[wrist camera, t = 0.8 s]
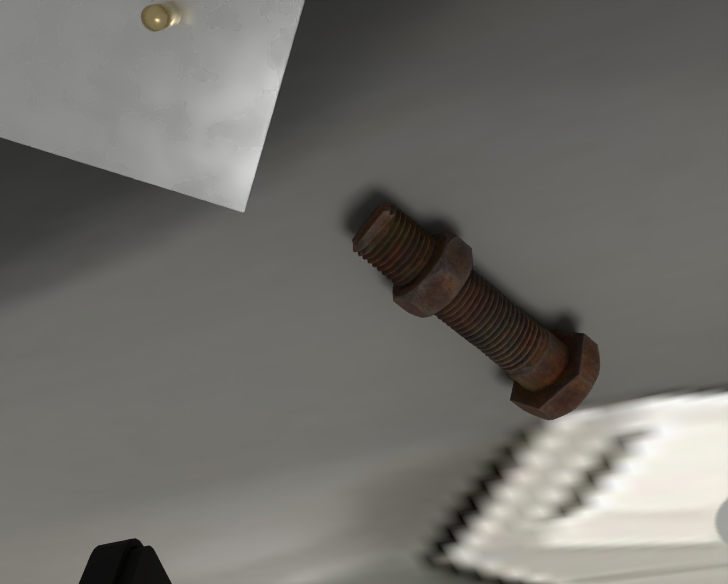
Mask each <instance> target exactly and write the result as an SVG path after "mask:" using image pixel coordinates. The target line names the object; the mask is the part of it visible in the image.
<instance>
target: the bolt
mask: <svg viewBox="0 0 728 584" xmlns="http://www.w3.org/2000/svg"><path fill="white" fill-rule="evenodd" d="M352 241H353V251H354V252H358V255H359V256H363V259H364V260H365V259H367V260H368V263H372V266H373V267H377V270H378V271H382V274H383V275H387V278H388V279H390V278H391V280H392V282H394V285H393V301H394V302H395V303H396V304H398V305H399V306H400V307H402V308H403V309H404V310H406V311H407V312H408V313H410V314H413V315H415V316H418V317H422V318H424V317H429V316H432V315H436V316H437V317H438V318H439V319H441V320H442V321H443V322H444V323H446V324H447V325H448V326H450V327H451V328H452V329H453V330H455V331H456V332H457V333H459V334H460V335H461V336H462V337H464V338H465V339H466V340H468V341H469V342H470V343H472V344H473V345H474V346H476V347H477V348H478V349H480V350H481V351H482V352H483V353H485V355H486V356H488V357H489V358H490V359H491V360H493V361H494V362H495V363H496V364H498V365H499V366H500V367H502V368H503V369H504V370H505V371H506V373H507V374H508V375H509V376H510V377H511V378H513V379H514V384H513V388H512V393H511V398H510V400H511V401H512V402H513V403H515V404H516V405H517V406H518V407H520V408H521V409H522V410H524V411H526V412H528V413H530V414H532V415H535V416H538V417H540V418H543V419H546V420H554V419H556V418H559V417H561V416H564V415H566V414H567V413H569V412H571V411H573V410H574V409H575V408H577V407H578V406H579V405H580V404H581V403H582V402H583V400H584V399H585V398H586V396H587V395H588V393H589V392H590V390H591V389H592V387H593V385H594V383H595V381H596V380H597V377H598V375H599V370H600V356H599V350H598V345H597V344H596V343H595V342H594V341H593V340H591V339H590V338H589V337H588V336H587V335H586V334H583V333H575V332H567V331H559V330H554V331H553V332H552V333H551V332H549V331H548V330H547V329H545V328H542V327H540V326H539V325H538V324H537V323H536V322H535V321H534V320H532V319H531V318H530V317H529V316H527V315H526V314H525V313H523V312H522V310H520V309H519V308H518V307H517V306H515V305H514V304H513V303H512V302H510V301H509V300H508V299H507V298H506V297H505V296H503V295H501V293H500V292H498V291H497V290H496V289H495V288H493V286H492V285H490V284H488V282H487V281H484V280H483V278H482V277H479V275H478V274H476V273H475V272H474V271H473V270H471V269H472V264H473V258H472V248H471V247H470V246H469V245H467V244H466V243H465V242H464V241H463V240H461V239H460V238H459V237H458V236H457V235H453V234H449V233H439V234H435V235H434V236H429V233H427V232H425V230H424V229H421V228H420V226H419V225H415V222H414V221H410V218H409V217H406V215H405V214H404V213H401V210H400V209H396V207H395V205H390V206H389V205H388V203H387V204H382V205H380V206H378V207H377V209H376V210H375V211H374V212H373V213H372V214H371V215H370V217H369V218H368V219H367V220H366V221H365V222H364V223H363V225H362V226H361V228H360V229H359V231H358V232H357V234H356V235H355V237H354V238H353V240H352Z"/></svg>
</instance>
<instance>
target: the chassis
mask: <svg viewBox="0 0 728 584" xmlns="http://www.w3.org/2000/svg"><path fill="white" fill-rule="evenodd" d="M304 3H305V0H0V137H2V138H5V139H8V140H11V141H14V142H18V143H21V144H24V145H27V146H31V147H34V148H37V149H40V150H44V151H47V152H50V153H53V154H56V155H60V156H63V157H66V158H69V159H73V160H76V161H79V162H82V163H86V164H89V165H92V166H95V167H99V168H102V169H105V170H108V171H111V172H115V173H118V174H121V175H124V176H128V177H131V178H134V179H137V180H141V181H144V182H147V183H150V184H153V185H157V186H160V187H163V188H166V189H170V190H173V191H176V192H179V193H183V194H186V195H189V196H192V197H195V198H199V199H202V200H205V201H208V202H212V203H215V204H218V205H221V206H225V207H228V208H231V209H234V210H237V211H241V212H244V211H245V208H246V206H247V203H248V199H249V196H250V192H251V189H252V185H253V182H254V178H255V175H256V171H257V168H258V164H259V161H260V157H261V154H262V150H263V147H264V143H265V140H266V136H267V133H268V129H269V126H270V122H271V119H272V115H273V112H274V108H275V105H276V101H277V98H278V94H279V91H280V87H281V84H282V80H283V77H284V73H285V70H286V66H287V63H288V59H289V56H290V52H291V49H292V45H293V42H294V38H295V35H296V31H297V28H298V24H299V21H300V17H301V14H302V10H303V7H304Z"/></svg>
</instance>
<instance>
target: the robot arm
mask: <svg viewBox="0 0 728 584" xmlns="http://www.w3.org/2000/svg"><path fill="white" fill-rule="evenodd" d="M79 584H172V583H171V581H170V579H169V577H168V576H167V574H166V572H165V570H164V568H163V566H162V564H161V562H160V560H159V558H158V556H157V554H156V552H155V551H154V549H153V548H152V547H151V546H143V545H142V543H141V542H140V541H139V540H138V539H136V538H134V539H128V540H123V541H118V542H113V543H108V544H103V545H98V546H97V547H96V548H95V549H94V550H93V552H92V554H91V555H90V558H89V560H88V563H87V565H86V568H85V570H84V572H83V575H82V577H81V580H80V582H79Z"/></svg>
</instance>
